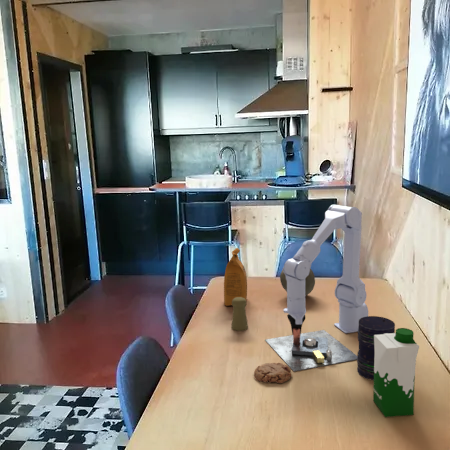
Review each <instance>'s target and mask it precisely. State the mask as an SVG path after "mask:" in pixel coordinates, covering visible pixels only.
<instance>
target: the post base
mask: <svg viewBox="0 0 450 450" xmlns="http://www.w3.org/2000/svg"><path fill="white" fill-rule="evenodd" d="M300 336H307V338H305V344H303V347H312V348H318V345H316V339H315V338H313V337H322V338H328V350H331V351H332V360H331V361H327V360H326V357H324V363H317V362H316V360H315V359H314V357H313V356H311V355H298V354H292V346H293V334H291V335H286V336H285V335H283V336H279V337H273V338H266V339H265V340H264V341H265V342H266V343H267V345H269V346H270V348H271V349H273V351H274V352H275V353H276V354H277V356H279V357H280V359H282V361H283V362H284V363H285V365H287V366H288V367H290V368H291V371H293V372H295V373H296V372H299V371H305V370H310V369H315V368H320V367H326V366H331V365H336V364H342V363H346V362H352V361H357V355H358V354H356V353H354V352H353V351H352V350H350V349H349V348H348V347H346V345H344V344H343V343H341V342H340V341H339V340H337V339H336V338H335V337H334V336H332V335H331V334H330V333H328V332H327V331H326V330H325V329H322V330H316V331H308V332H304V333H303V332H301V335H300Z"/></svg>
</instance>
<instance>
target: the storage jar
mask: <svg viewBox="0 0 450 450" xmlns="http://www.w3.org/2000/svg"><path fill="white" fill-rule="evenodd" d="M395 328H396V324H395V322H394V321H393V320H391V319H390V318H386V317H383V316H379V315H378V316H376V315H368V316H367V317H363V318H361V319H359V326H358V331H357V340H358V351H357V354H356V355H357V360H356V363H357V366H356V367H357V369H356V372H357V374H358V375H359V376H360V377H362V378H364V379H367V380H369V381H373V382H374V358H375V348H374V335H380V334H385V333H388V334H389V333H396V329H395Z"/></svg>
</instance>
